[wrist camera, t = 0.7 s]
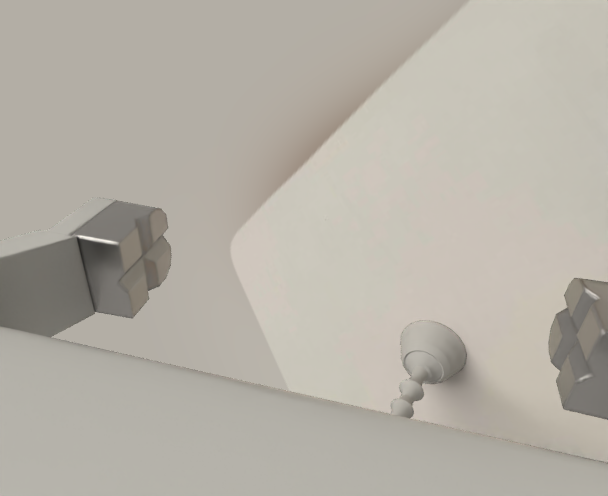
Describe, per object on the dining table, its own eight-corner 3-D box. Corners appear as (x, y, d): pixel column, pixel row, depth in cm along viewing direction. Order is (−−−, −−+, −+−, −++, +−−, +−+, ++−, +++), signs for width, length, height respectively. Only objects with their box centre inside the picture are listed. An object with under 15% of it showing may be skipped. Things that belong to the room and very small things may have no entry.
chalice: (399, 294, 36) (265, 485, 23) (491, 330, 34) (404, 570, 20) (382, 365, 40) (259, 565, 26) (463, 402, 38) (374, 645, 24)
